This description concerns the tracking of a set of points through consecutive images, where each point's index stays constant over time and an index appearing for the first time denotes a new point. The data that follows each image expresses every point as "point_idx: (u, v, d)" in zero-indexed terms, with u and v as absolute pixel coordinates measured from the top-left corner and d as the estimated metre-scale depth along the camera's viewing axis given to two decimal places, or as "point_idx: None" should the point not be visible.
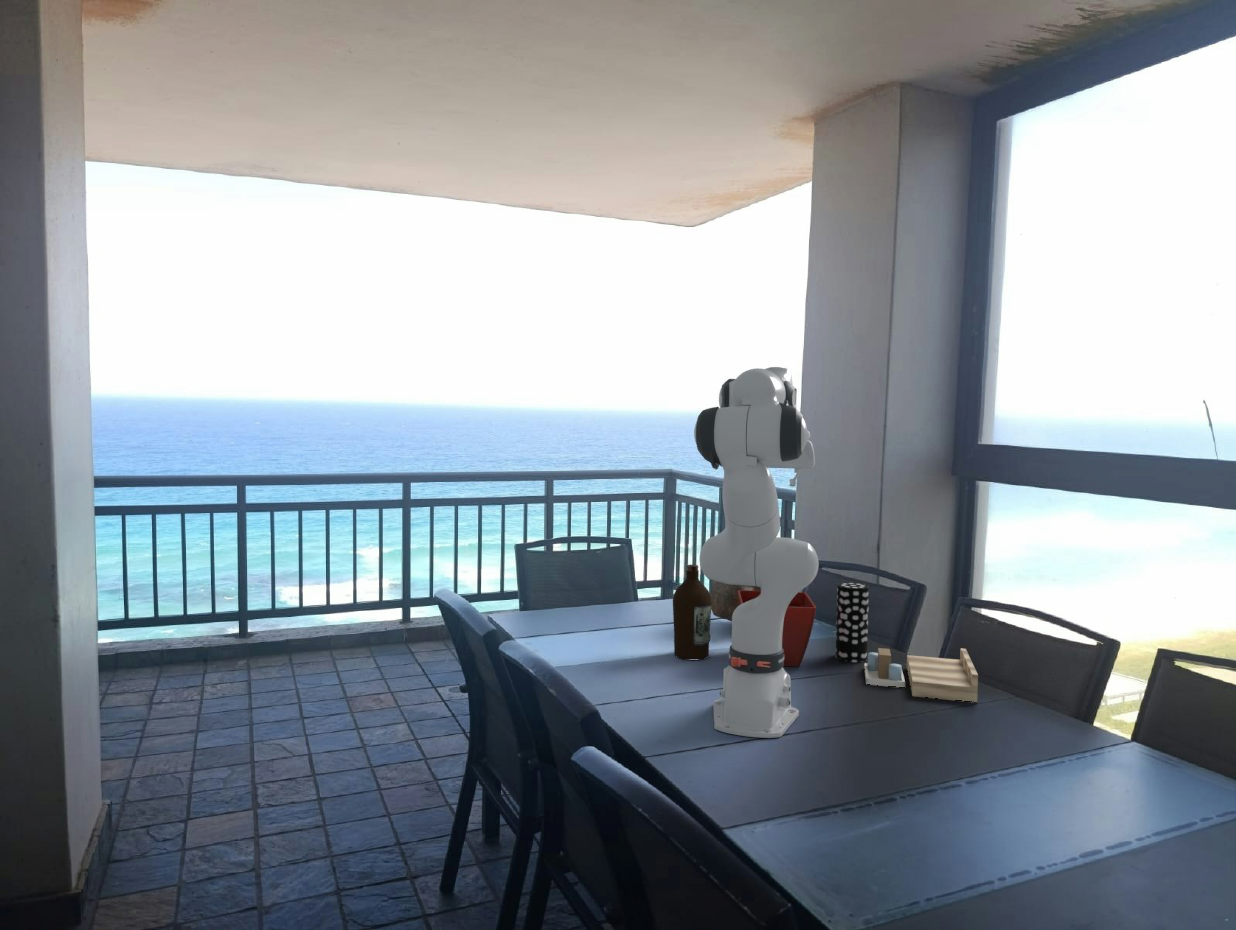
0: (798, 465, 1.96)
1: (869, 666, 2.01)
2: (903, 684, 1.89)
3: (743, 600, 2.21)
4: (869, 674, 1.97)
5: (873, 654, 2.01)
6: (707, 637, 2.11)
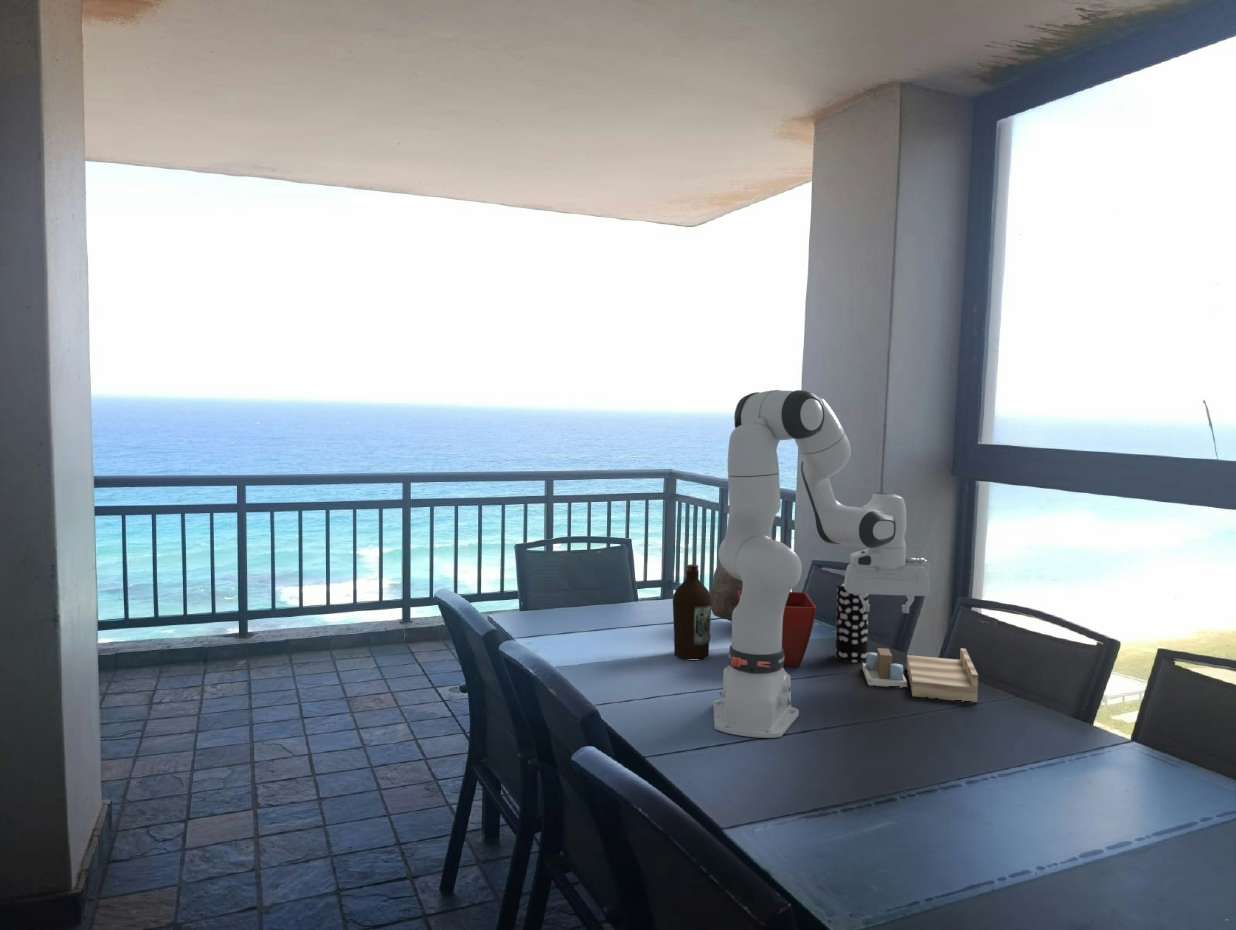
0: None
1: (868, 666, 2.01)
2: (905, 684, 1.90)
3: None
4: (869, 674, 1.97)
5: (872, 654, 2.01)
6: (707, 637, 2.11)
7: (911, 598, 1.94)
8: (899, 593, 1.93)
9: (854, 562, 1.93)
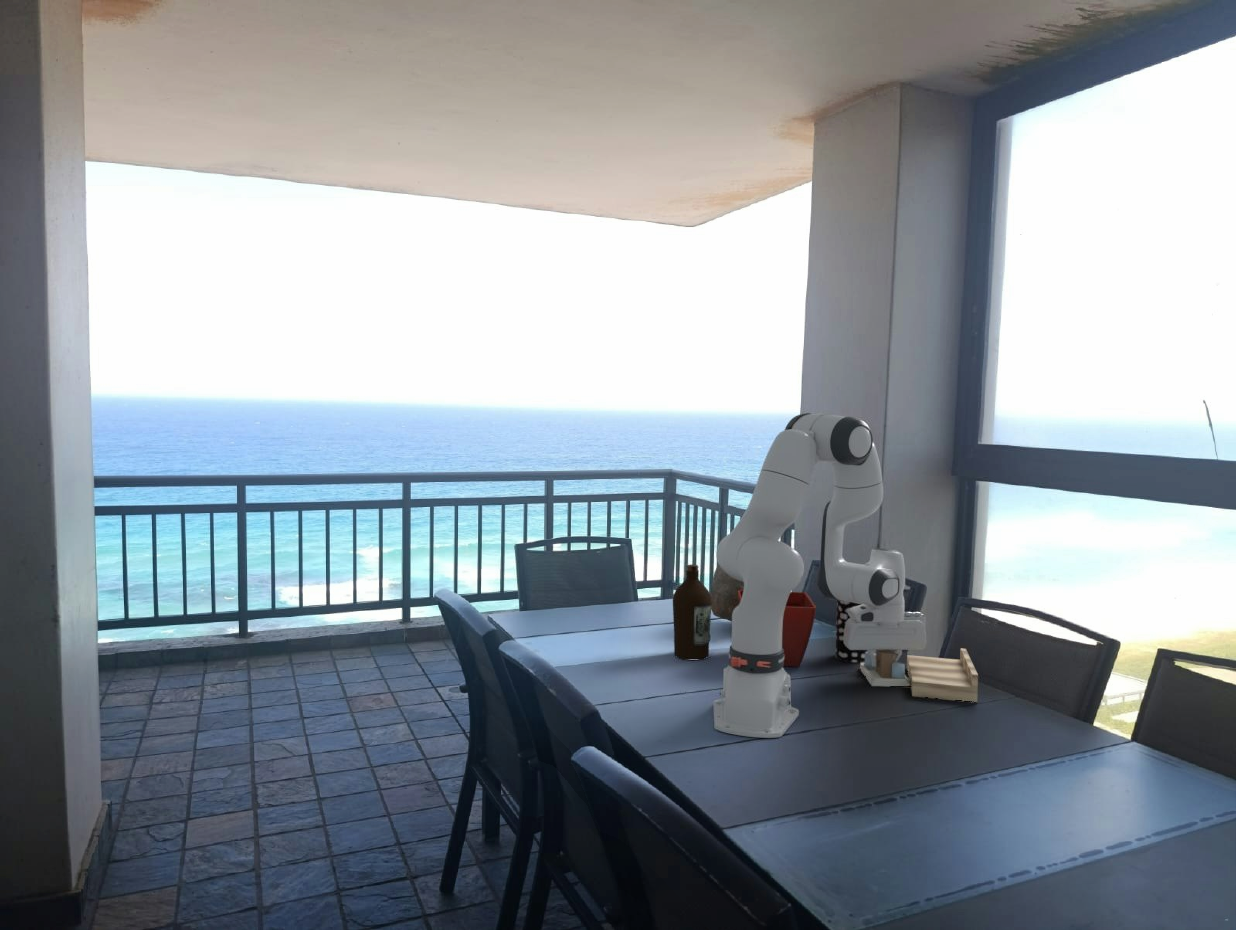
0: None
1: (867, 666, 2.00)
2: (908, 682, 1.90)
3: None
4: (870, 674, 1.97)
5: None
6: (707, 637, 2.11)
7: (899, 652, 1.96)
8: (898, 648, 1.95)
9: (857, 619, 1.92)
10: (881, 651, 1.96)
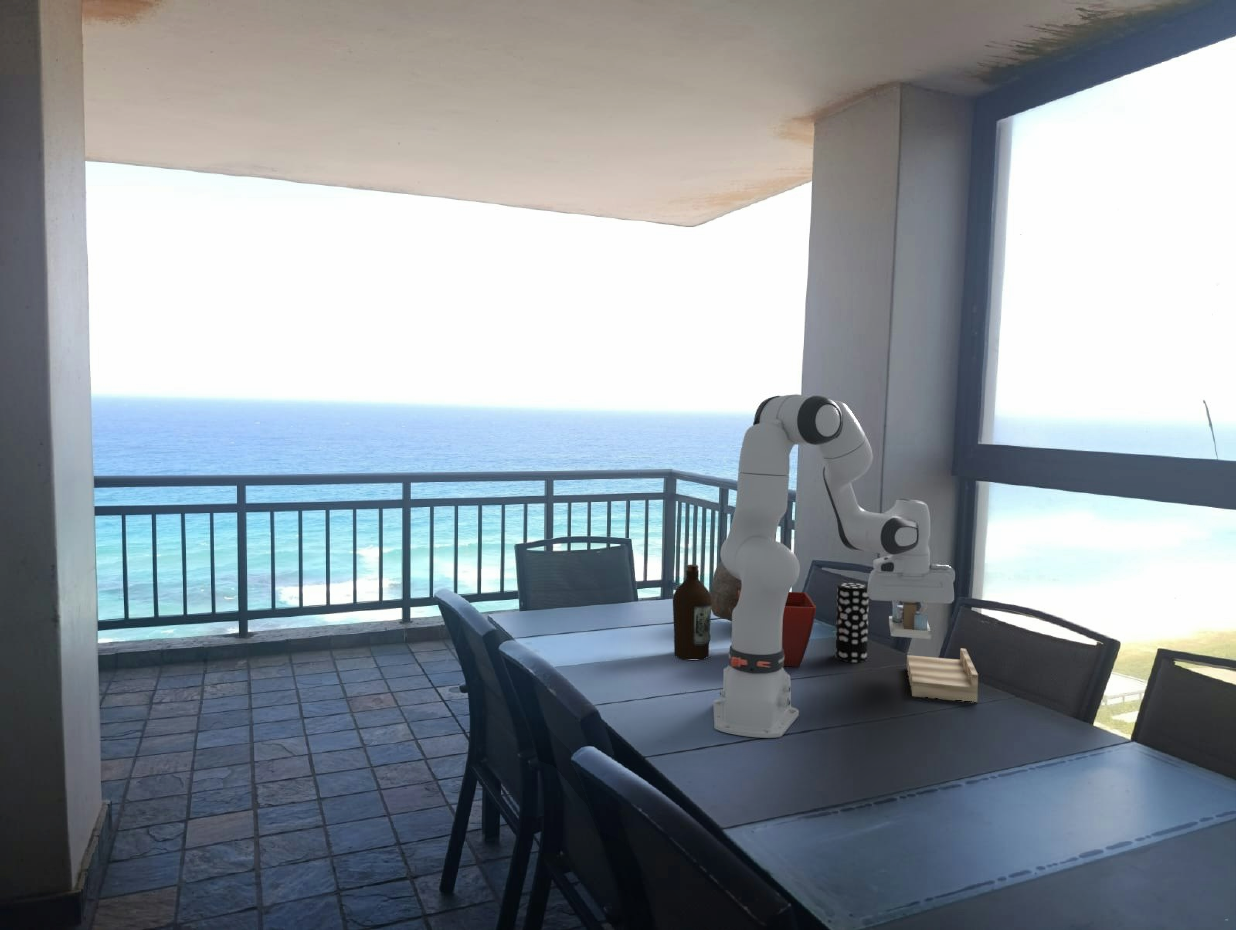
0: None
1: (894, 618, 1.98)
2: (929, 634, 1.87)
3: None
4: (894, 626, 1.95)
5: (898, 606, 1.98)
6: (707, 637, 2.11)
7: (924, 605, 1.92)
8: (923, 600, 1.91)
9: (877, 568, 1.92)
10: (905, 603, 1.93)
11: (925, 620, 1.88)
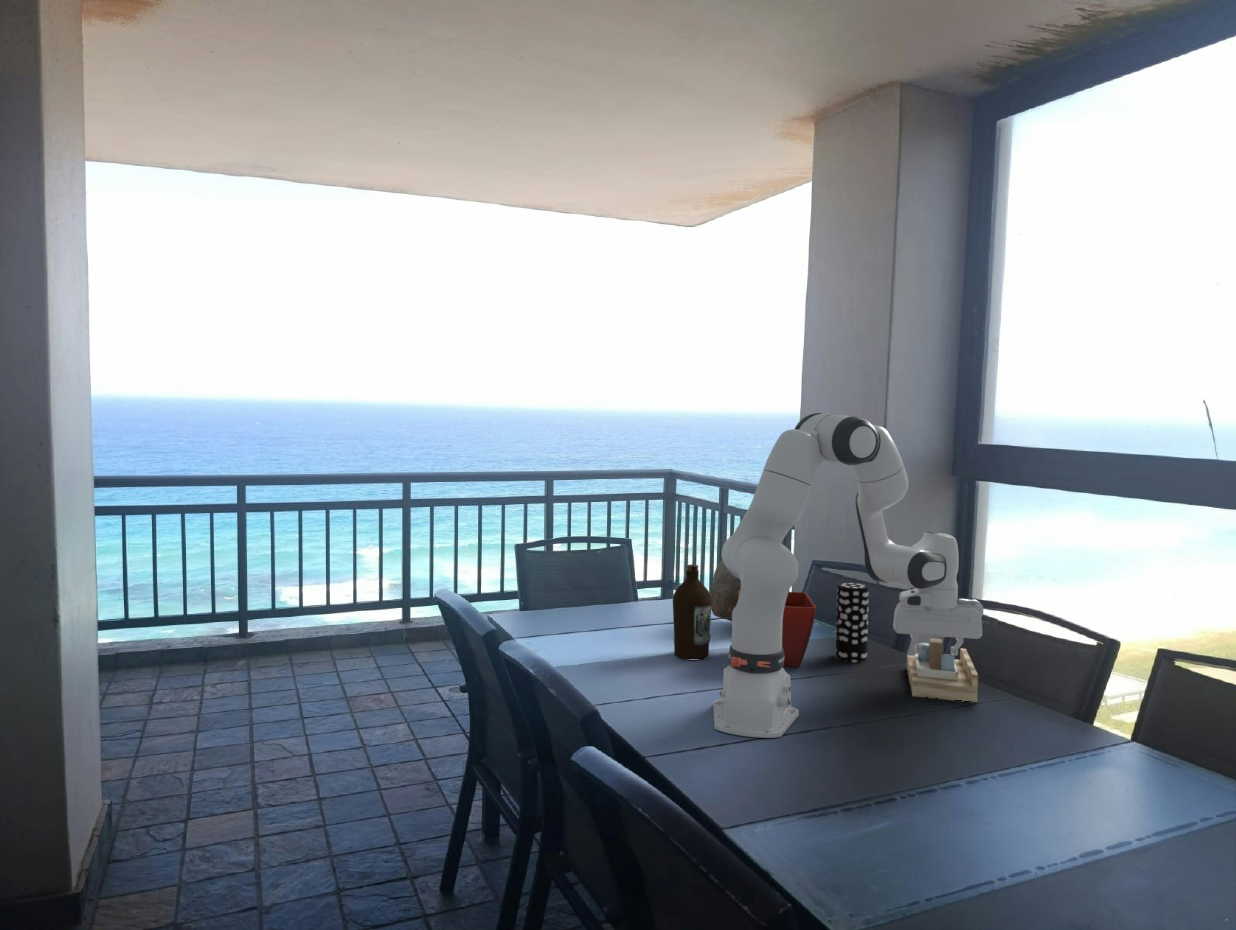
0: None
1: (920, 657, 1.96)
2: (956, 675, 1.85)
3: None
4: (920, 665, 1.93)
5: (924, 645, 1.96)
6: (707, 637, 2.11)
7: (960, 640, 1.89)
8: (950, 635, 1.89)
9: (903, 602, 1.90)
10: (932, 642, 1.91)
11: (952, 661, 1.86)
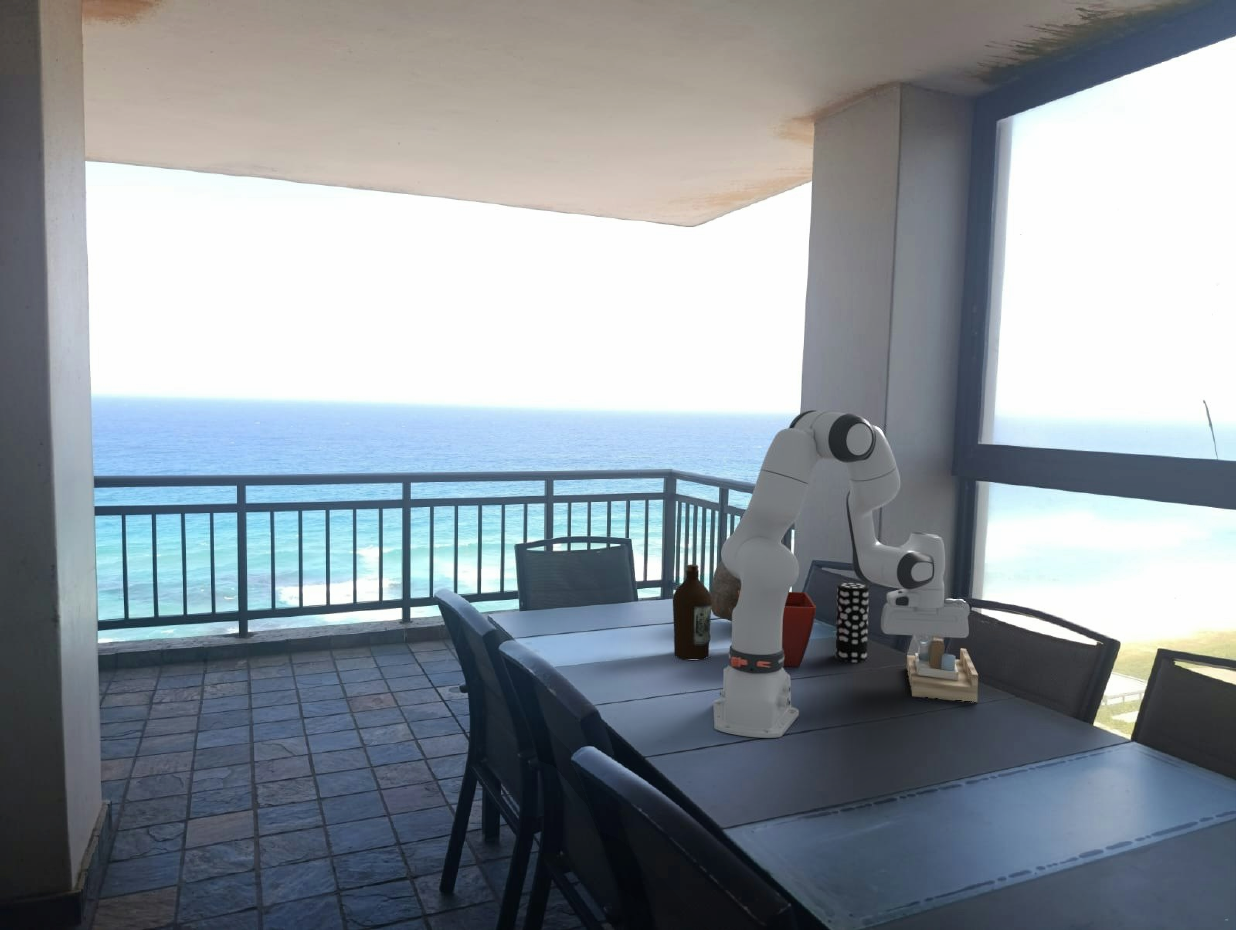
0: None
1: (920, 656, 1.96)
2: (956, 675, 1.85)
3: None
4: (920, 664, 1.93)
5: None
6: (707, 637, 2.11)
7: (930, 639, 1.92)
8: (937, 634, 1.90)
9: (891, 602, 1.91)
10: (933, 641, 1.91)
11: (953, 661, 1.86)
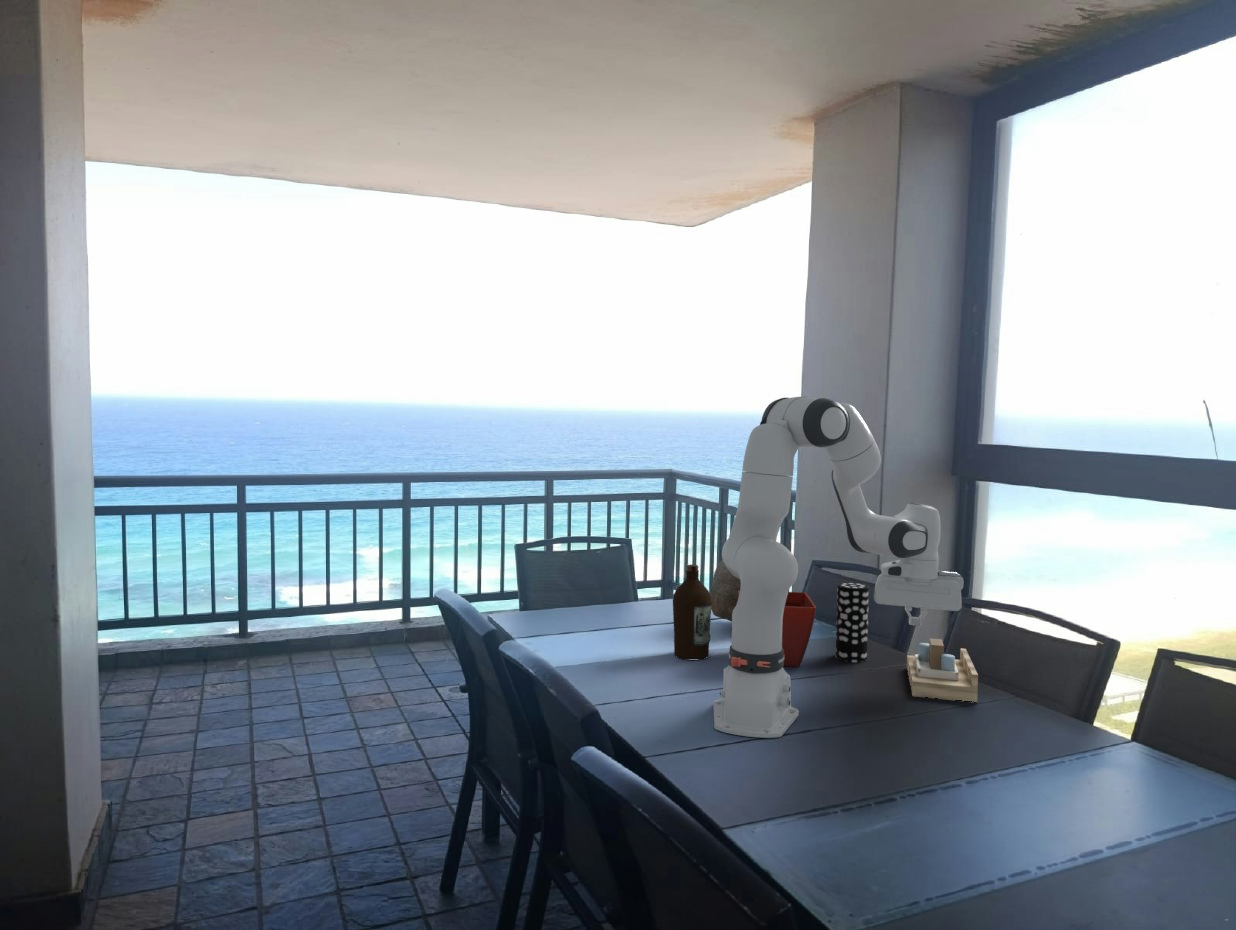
0: None
1: (920, 657, 1.96)
2: (956, 675, 1.85)
3: None
4: (920, 665, 1.93)
5: (924, 645, 1.96)
6: (707, 637, 2.11)
7: (924, 611, 1.91)
8: (929, 606, 1.90)
9: (884, 572, 1.91)
10: (932, 642, 1.91)
11: (953, 661, 1.86)
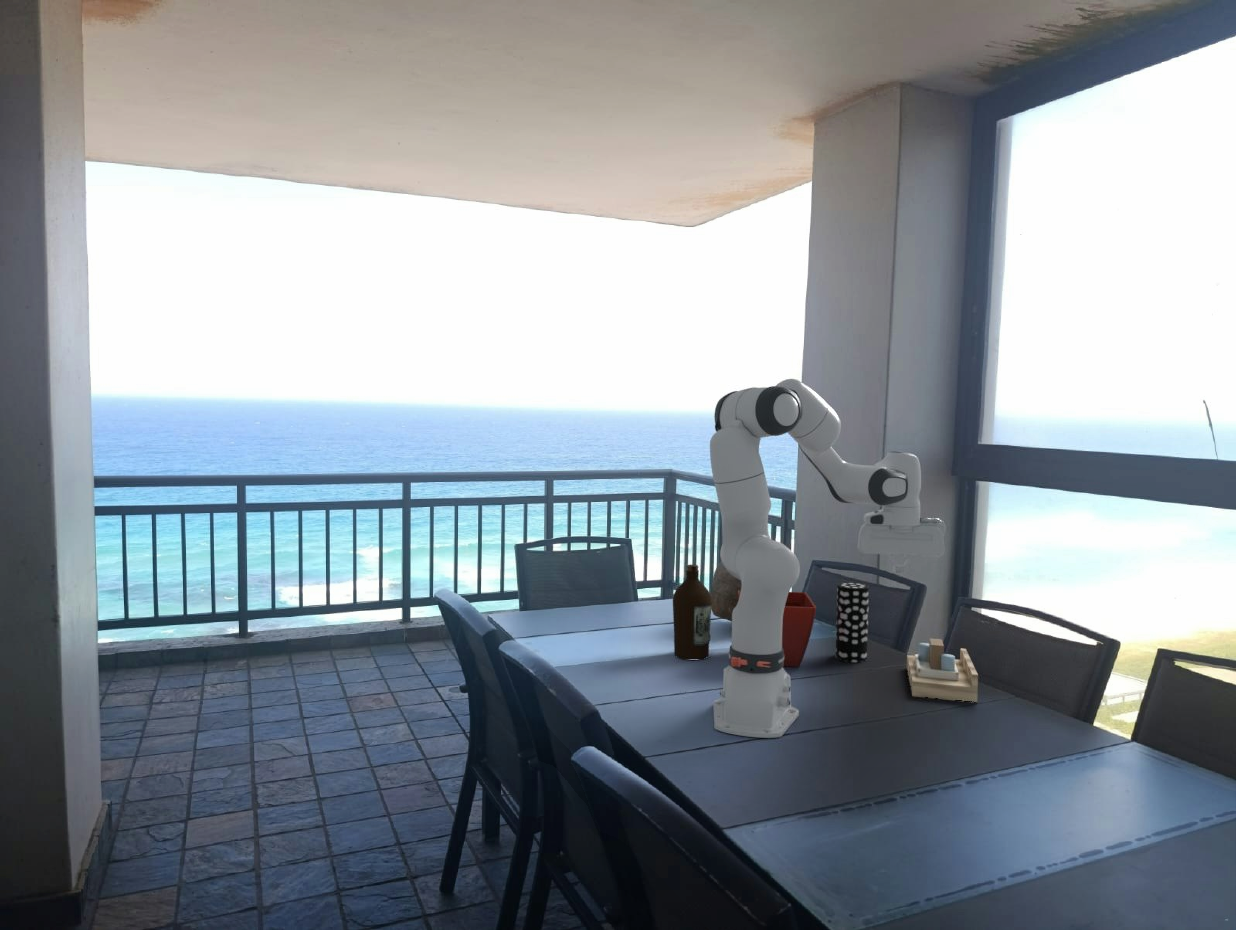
0: None
1: (920, 657, 1.96)
2: (956, 675, 1.85)
3: None
4: (920, 665, 1.93)
5: (924, 645, 1.96)
6: (707, 637, 2.11)
7: (908, 558, 1.92)
8: (913, 553, 1.91)
9: (866, 521, 1.92)
10: (932, 642, 1.91)
11: (953, 661, 1.86)
